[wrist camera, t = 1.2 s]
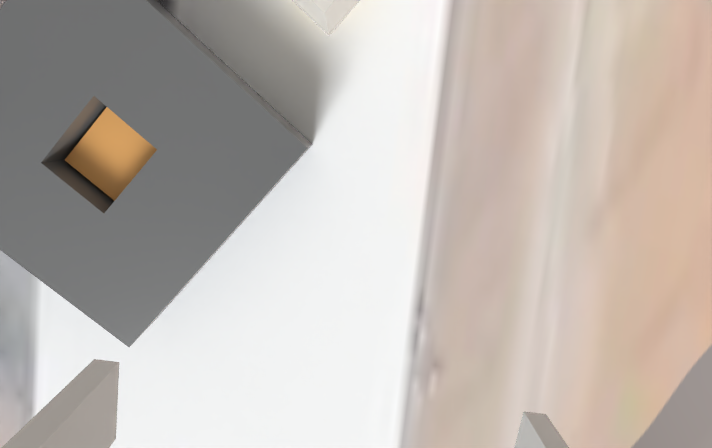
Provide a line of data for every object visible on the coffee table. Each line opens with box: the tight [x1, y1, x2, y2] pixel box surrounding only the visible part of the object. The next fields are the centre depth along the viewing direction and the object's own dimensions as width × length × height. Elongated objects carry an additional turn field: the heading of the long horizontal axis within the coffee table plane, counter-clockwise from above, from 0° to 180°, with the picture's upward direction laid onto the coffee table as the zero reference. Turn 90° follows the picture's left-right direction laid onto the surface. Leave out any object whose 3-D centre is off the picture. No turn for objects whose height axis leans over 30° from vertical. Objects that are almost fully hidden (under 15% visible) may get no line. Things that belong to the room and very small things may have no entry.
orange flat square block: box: [65, 107, 157, 201], centre depth 34 cm, size 5×5×1 cm
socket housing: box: [0, 0, 312, 347], centre depth 34 cm, size 20×20×5 cm
